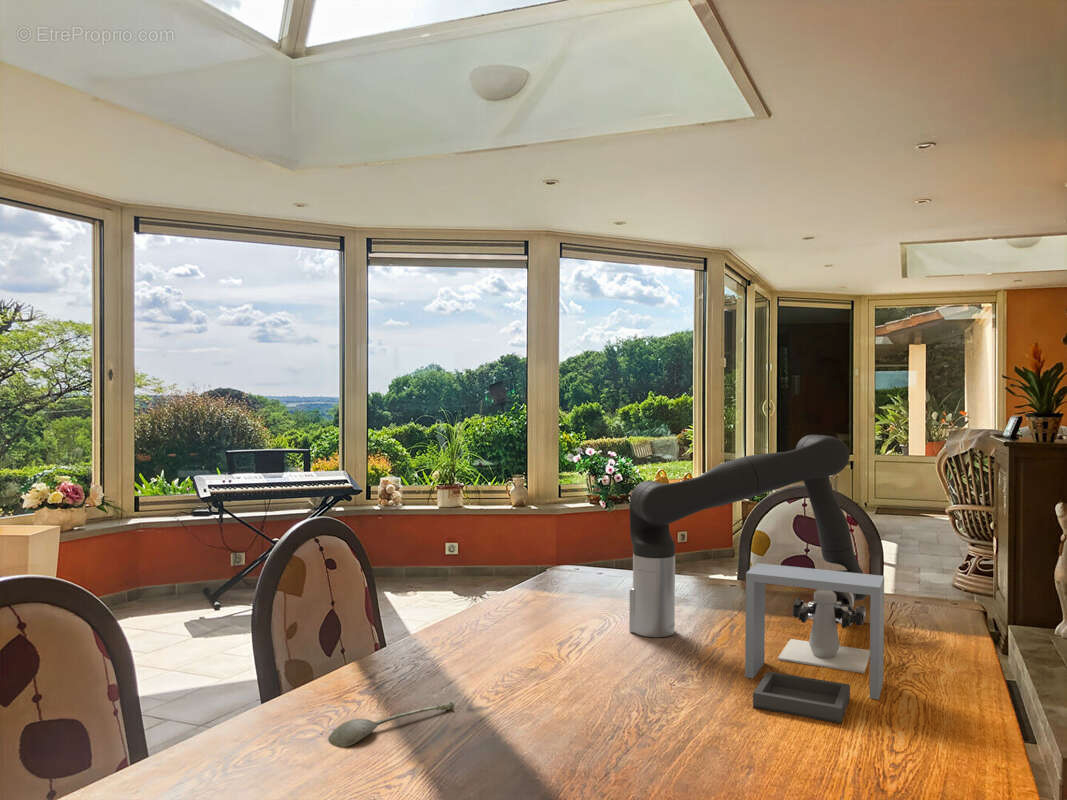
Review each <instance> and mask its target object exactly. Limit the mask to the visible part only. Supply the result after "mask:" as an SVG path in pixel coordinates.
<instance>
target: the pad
mask: <svg viewBox="0 0 1067 800" xmlns="http://www.w3.org/2000/svg"><path fill="white" fill-rule="evenodd" d="M777 660H778V661H785V662H788V663H795V664H802V665H810V666H814V667H815V666H816V667H820V668H821V667H822V668H828V669H834V670H841V671H848V672H853V673H861V674H865V673H866V670H867V666H868V664H869V662H870V649H863V648H857V647H852V646H851V647H850V646H843V645H842V646H841V645H840V647H839V650H838V652H837V654H836V656H835V657H833V658H820V657H817V656H815V655H813V652H812V649H811V647H810V644H809V640H799V639H795V638H794V639H792V638H790V639H789V640H788V642H787V644H786V645H785V647H784V648H783V649H782V651H781V652H780V653H779V655H778V657H777Z"/></svg>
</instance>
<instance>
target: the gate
mask: <svg viewBox="0 0 1067 800" xmlns="http://www.w3.org/2000/svg"><path fill="white" fill-rule="evenodd" d="M766 584H769V585H778V586H787V587H797V588H805V589H813V590H820V589H821V590H830V591H839V592H847V593H856V594H865V595H867V596H870V599H869V600H870V607H869V608H870V612H869V616H870V617H869V618H870V619H869V632H870V633H869V650H870V658H869V699H873V700H880V696H881V694H882V693H881V692H882V688H883V684H884V657H885V656H884V655H885V654H884V653H885V651H884V648H885V646H884V645H885V644H884V643H885V641H884V640H885V638H884V637H885V635H884V634H885V629H884V628H885V575H879V574H869V573H868V574H867V573H863V574H860V573H850V572H840V571H839V570H831V569H830V570H829V569H820V568H819V569H818V568H809V567H800V566H790V565H779V564H771V563H760V562H757V563H756V564H754V565H753V567H751V568H750V569H748V571H747V572H746V573H745V639H744V640H745V641H744V644H745V645H744V646H745V647H744V648H745V649H744V650H745V651H744V652H745V653H744V655H745V657H744V658H745V659H744V677H745V678H748V679H754V678H755V677H756V676H757V674H758V673H759V671H760V670H761V668H762V667H763V665H764V664H765V659H766V658H765V655H766V654H765V653H766V651H765V650H766V649H765V647H766V643H765V641H766V639H765V638H766V637H765V636H766V634H765V633H766V629H765V628H766Z"/></svg>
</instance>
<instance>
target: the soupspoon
mask: <svg viewBox="0 0 1067 800" xmlns="http://www.w3.org/2000/svg"><path fill="white" fill-rule="evenodd" d="M455 708H456V705H455V703H454V701H449V702H448V703H446V704H445V703H443V704H441V705H440V704H436V705H435V706H428V707H423V708H419V709H415V710H411V711H407V712H406V711H405V712H403V713H399V714H395V715H391V716H388V717H385V718H382V719H379V720H377V721H374V720H370V719H367V718H355V719H350V720H348V721H345V722H343V723H341V724H340V725H338V726H337V727H336V728H334V729H333V730H332V732H331V733H330V735H329V736H328V737H327V740H328V743H329V744H331V745H332V746H334V747H337V748H341V749H343V748H344V749H346V748H348V747H351V746H352V745H354V744H357V743H358V742H359V741H361V740H363V739H364V738H366V737H367V736H369V734H371V733H372V732H373V731H375V729H376V728H378V726H380V725H382V724H386V723H388V722H390V721H394V720H397V719H401V718H404V717H408V716H411V715H416V714H421V713H423V712H429V711H435V710H436V711H438V712H439V711H451V712H454V711H455Z"/></svg>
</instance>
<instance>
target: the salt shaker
mask: <svg viewBox="0 0 1067 800" xmlns="http://www.w3.org/2000/svg"><path fill="white" fill-rule="evenodd" d="M836 599H837V598H836V594H835V593H834V592H833V591H830V590H821V589H815V591H814V593H813V600H814V601H815V602H817V607H816V611H815V616H814V620H813V619H812V620H813V621H812V625H811V629H810V635H809V639H808V641H809V644H810V647H811V649H812V652H813V655H815V656H817V657H820V658H833V657H835V656H836V654H837V652H838V650H839V647H840V646H841V645H840V638H839V633H838V626H837V624H836V619H835V613H834V607H833V604H835V603H836Z"/></svg>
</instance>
